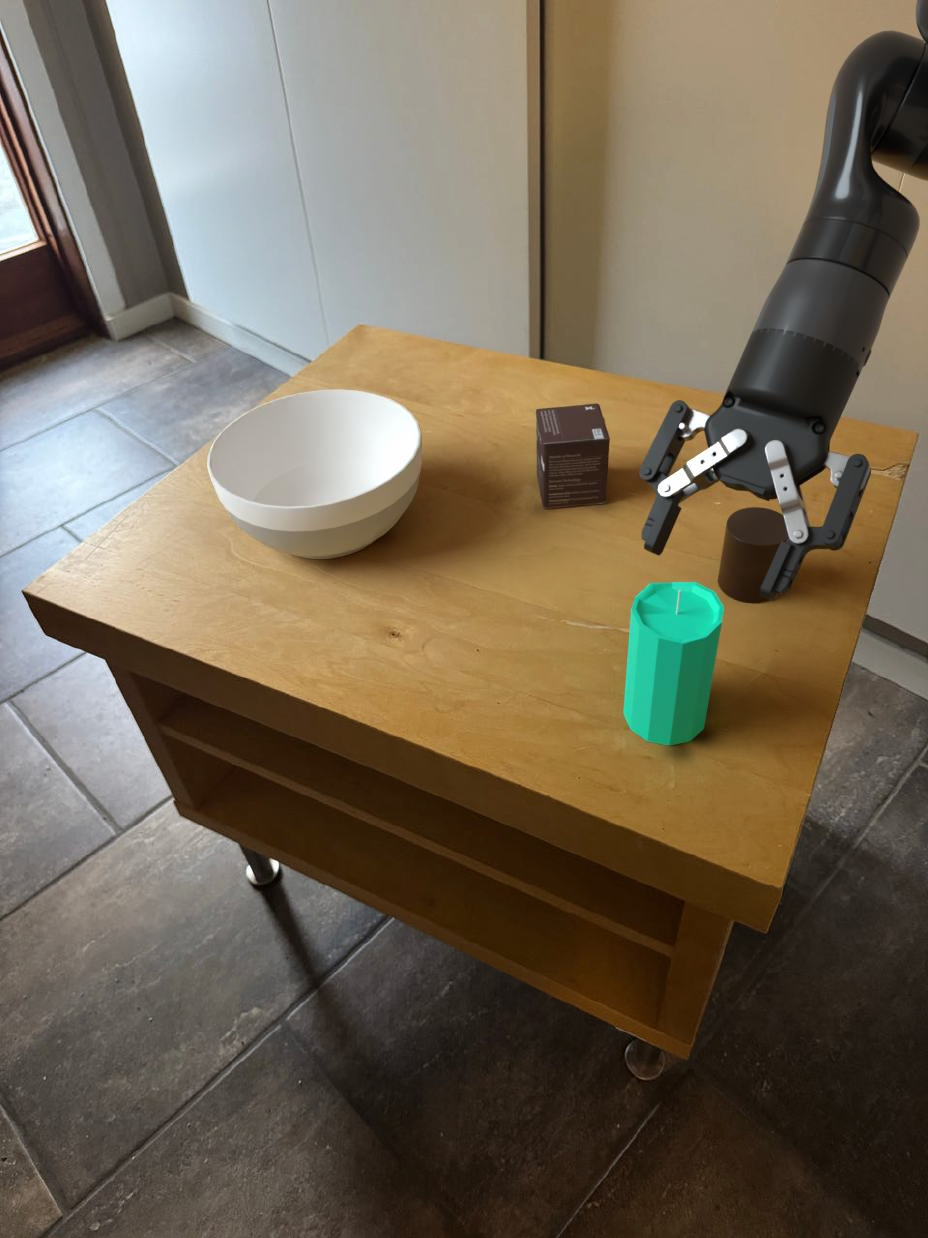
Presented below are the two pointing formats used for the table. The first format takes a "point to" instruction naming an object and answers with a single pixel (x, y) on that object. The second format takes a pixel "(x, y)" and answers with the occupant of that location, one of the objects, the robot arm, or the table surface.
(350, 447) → the bowl
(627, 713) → the candle
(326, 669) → the table surface
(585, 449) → the box
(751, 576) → the walnut post
